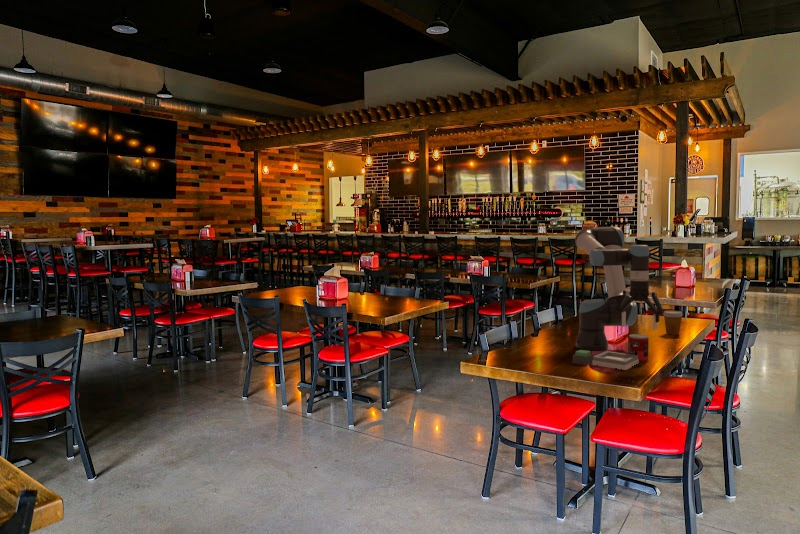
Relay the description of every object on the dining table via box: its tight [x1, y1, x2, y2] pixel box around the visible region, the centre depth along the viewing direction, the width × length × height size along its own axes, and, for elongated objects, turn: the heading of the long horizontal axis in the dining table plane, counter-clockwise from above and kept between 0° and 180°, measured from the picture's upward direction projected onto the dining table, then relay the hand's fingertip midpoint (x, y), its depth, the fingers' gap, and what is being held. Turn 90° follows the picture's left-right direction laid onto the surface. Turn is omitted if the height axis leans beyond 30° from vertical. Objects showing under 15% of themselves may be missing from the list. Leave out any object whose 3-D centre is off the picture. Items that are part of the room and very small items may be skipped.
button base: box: [571, 353, 594, 366], centre depth 253 cm, size 7×7×4 cm
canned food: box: [628, 333, 650, 363], centre depth 255 cm, size 8×8×11 cm
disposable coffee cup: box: [663, 310, 683, 336], centre depth 309 cm, size 10×10×12 cm
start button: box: [574, 349, 592, 357], centre depth 253 cm, size 5×5×3 cm
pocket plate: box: [591, 350, 640, 371], centre depth 249 cm, size 14×14×4 cm
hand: (639, 328), depth 254 cm, fingers open, 13 cm apart
